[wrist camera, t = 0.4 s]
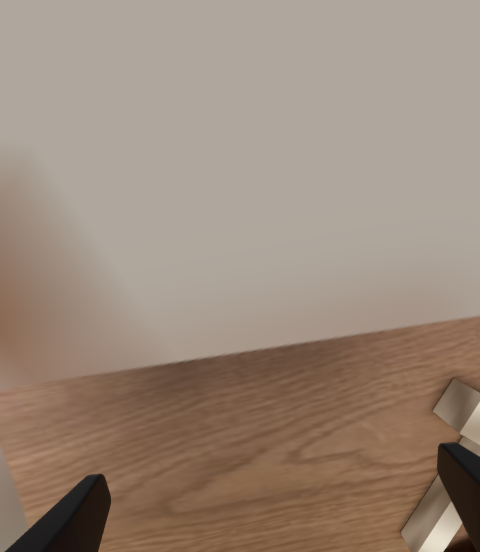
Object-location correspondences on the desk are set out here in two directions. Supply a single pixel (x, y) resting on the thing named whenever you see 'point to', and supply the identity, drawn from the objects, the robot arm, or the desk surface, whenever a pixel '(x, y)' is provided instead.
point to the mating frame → (436, 503)
